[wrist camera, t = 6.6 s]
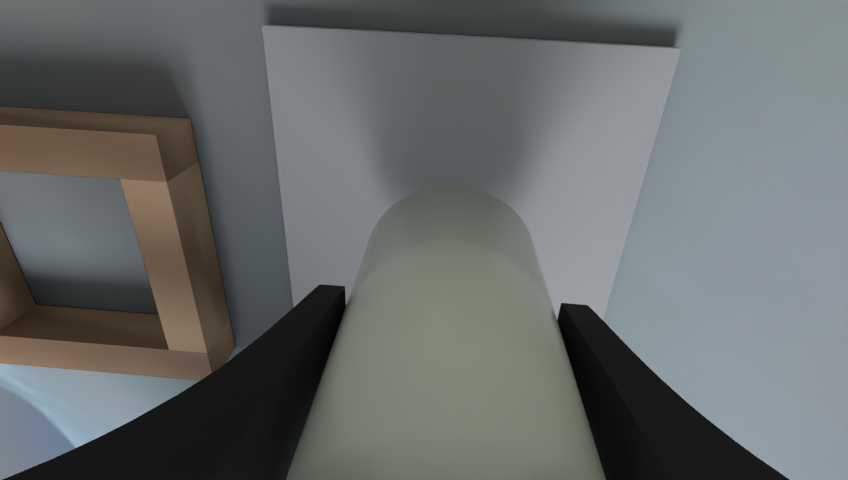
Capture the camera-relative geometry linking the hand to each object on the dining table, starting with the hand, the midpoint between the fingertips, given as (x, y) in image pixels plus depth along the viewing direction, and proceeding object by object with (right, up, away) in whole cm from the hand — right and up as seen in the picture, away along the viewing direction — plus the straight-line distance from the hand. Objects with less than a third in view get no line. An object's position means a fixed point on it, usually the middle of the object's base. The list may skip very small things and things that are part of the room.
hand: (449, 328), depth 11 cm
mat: (0, +3, +5) cm, 6 cm away
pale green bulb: (0, +1, +3) cm, 3 cm away
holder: (-14, +2, +7) cm, 15 cm away
